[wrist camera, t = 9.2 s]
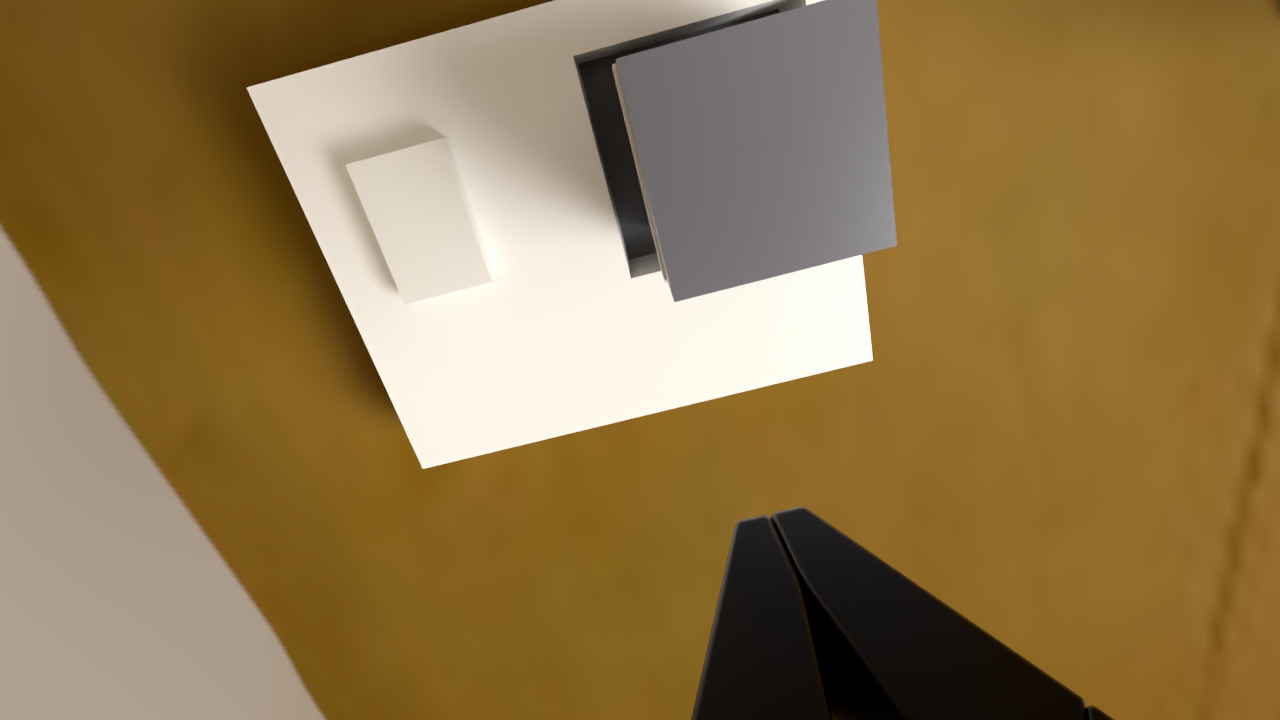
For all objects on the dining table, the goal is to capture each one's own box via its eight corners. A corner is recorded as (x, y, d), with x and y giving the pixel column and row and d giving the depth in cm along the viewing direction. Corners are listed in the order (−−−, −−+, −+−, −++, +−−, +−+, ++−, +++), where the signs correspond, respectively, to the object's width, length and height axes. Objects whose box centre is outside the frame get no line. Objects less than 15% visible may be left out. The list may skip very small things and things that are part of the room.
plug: (757, 43, 16) (879, -19, 9) (780, 193, 18) (899, 247, 10) (612, 83, 16) (611, 56, 9) (647, 228, 18) (672, 305, 11)
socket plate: (796, -49, 16) (839, -88, 13) (842, 331, 20) (883, 369, 17) (298, 91, 16) (228, 86, 13) (444, 429, 20) (415, 482, 17)
